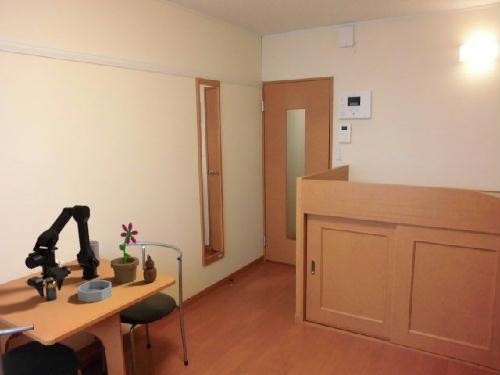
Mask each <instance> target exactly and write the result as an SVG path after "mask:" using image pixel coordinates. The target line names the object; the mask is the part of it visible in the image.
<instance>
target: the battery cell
mask: <svg viewBox="0 0 500 375" xmlns="http://www.w3.org/2000/svg"><path fill="white" fill-rule="evenodd" d="M44 284H45V285H44V289H45V290H44V291H45V298H46V301H47V302H53V301H56V300H57V299H58V294H57V283H56V281H55V280H54V279H51V278H49V279H47V280H44Z"/></svg>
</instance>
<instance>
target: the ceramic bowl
mask: <svg viewBox="0 0 500 375" xmlns="http://www.w3.org/2000/svg"><path fill="white" fill-rule="evenodd" d="M112 286H113V285H112V282H111V281H110V280H104V279H99V280H88V281H87V282H85V283H82V284H79V285H78V288H77V300H78V301H80V302H83V303H95V302H102V301H104V300H106V299H107V298H110V297H112V296H113V295H112V294H113V290H112V288H113V287H112Z"/></svg>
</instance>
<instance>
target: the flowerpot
mask: <svg viewBox="0 0 500 375" xmlns="http://www.w3.org/2000/svg"><path fill="white" fill-rule="evenodd" d="M121 227H122V229H123V231H124V232H121V233H120V237H121V238H124V237H125V238H124V241H123V244H119V245H118V247H119V250H120V251H123V256H120V257H117V258H114V259H112V260H110V268H111V269H112V270H113V274H114V280H115V283H118V284H130V283H133V282H135V281H136V280H137V269H138V266H140V260H139V258H138V257H135V256H132V255H130V254H129V253H127V252H126V248H127V247H126V245H127V246H128V245H130V243H133V244H135V245H136V244H137V239H136V238H135V236H137V234H139V232H138V230H136V229H135V230H133V223H132V222H129V224H128V225H125V224H124V223H122V224H121ZM134 280H135V281H134Z"/></svg>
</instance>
